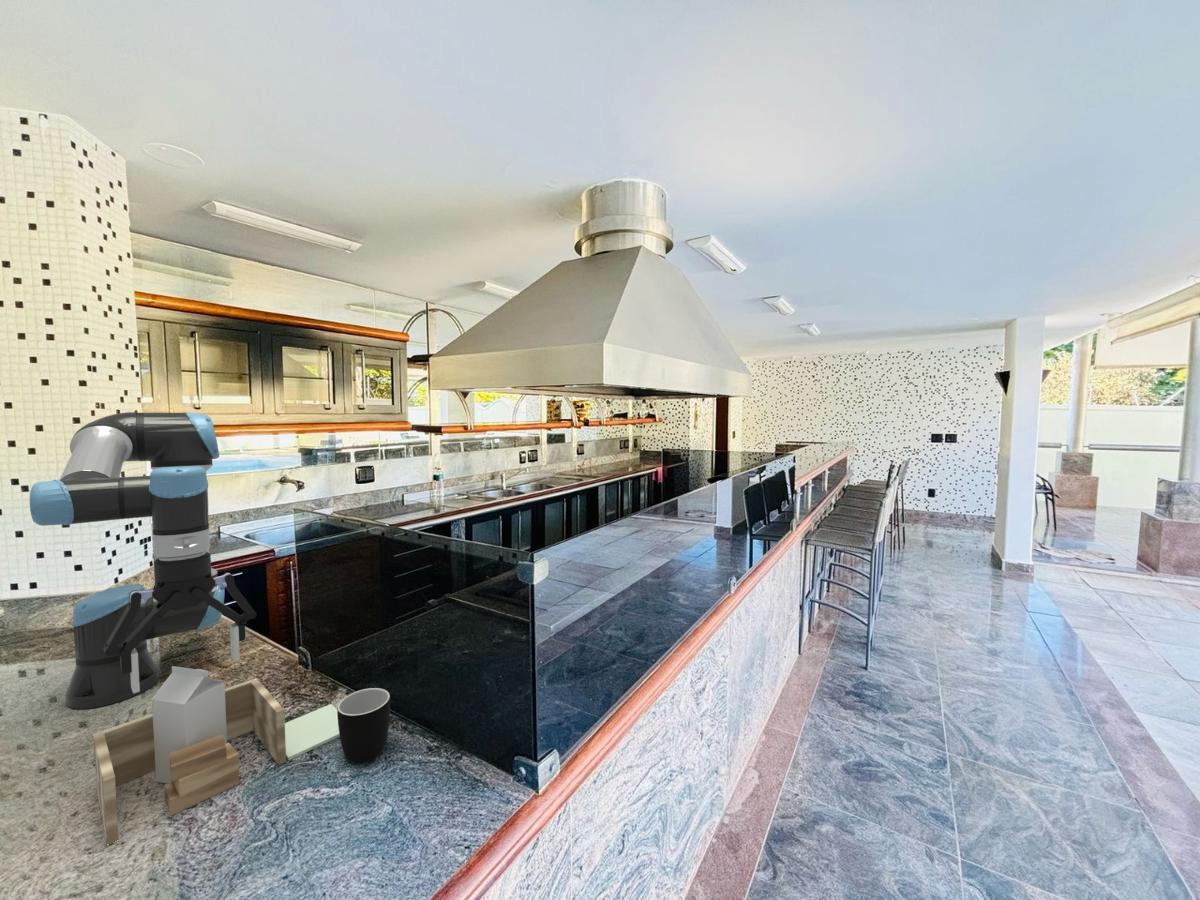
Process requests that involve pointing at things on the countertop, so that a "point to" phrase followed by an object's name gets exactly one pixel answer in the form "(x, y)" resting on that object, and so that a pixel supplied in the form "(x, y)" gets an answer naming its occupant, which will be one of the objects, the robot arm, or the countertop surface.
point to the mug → (364, 724)
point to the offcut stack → (201, 773)
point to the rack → (133, 752)
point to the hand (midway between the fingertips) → (188, 673)
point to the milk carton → (186, 714)
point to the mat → (311, 731)
